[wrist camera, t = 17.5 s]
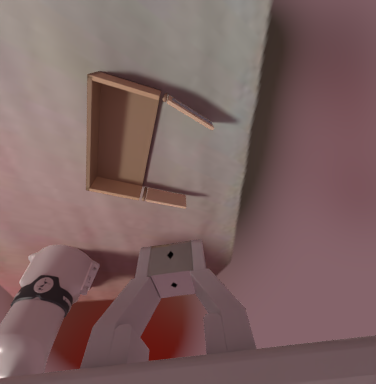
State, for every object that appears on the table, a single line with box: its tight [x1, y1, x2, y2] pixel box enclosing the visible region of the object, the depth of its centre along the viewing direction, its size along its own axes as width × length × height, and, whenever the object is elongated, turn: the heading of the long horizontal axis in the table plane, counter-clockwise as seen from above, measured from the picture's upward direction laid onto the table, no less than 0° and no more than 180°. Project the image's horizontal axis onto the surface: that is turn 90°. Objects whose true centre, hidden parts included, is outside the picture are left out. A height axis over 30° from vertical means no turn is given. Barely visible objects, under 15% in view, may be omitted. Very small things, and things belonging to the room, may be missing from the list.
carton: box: [86, 71, 161, 200], centre depth 36 cm, size 20×10×5 cm, turn 164°
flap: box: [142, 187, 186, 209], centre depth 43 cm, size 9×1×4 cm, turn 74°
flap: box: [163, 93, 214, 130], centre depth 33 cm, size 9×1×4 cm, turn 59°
